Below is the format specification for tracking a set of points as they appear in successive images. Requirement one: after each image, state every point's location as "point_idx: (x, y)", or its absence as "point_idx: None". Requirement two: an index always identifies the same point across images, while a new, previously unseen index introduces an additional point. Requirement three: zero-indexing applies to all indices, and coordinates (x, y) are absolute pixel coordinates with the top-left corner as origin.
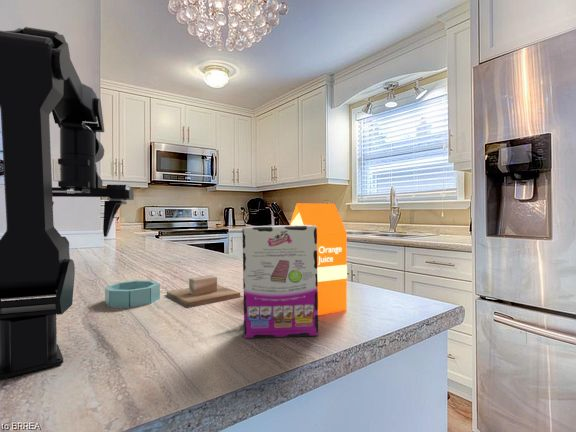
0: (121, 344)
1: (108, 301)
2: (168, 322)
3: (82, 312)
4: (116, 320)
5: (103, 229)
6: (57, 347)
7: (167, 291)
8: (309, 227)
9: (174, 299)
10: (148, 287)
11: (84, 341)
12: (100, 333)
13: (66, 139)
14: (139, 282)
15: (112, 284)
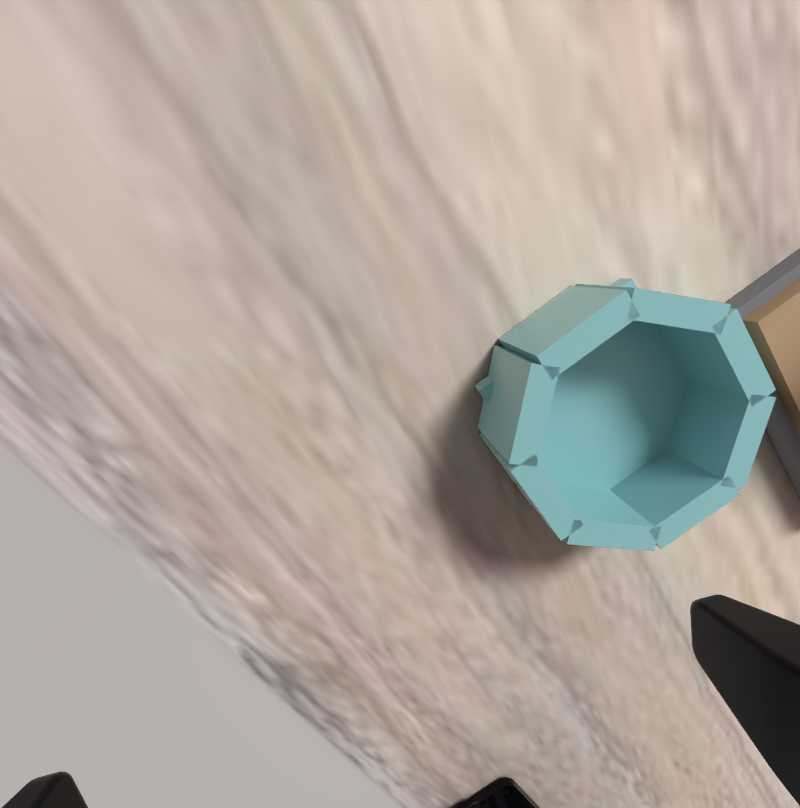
0: (653, 743)
1: (530, 502)
2: (750, 598)
3: (409, 488)
4: (581, 580)
5: (778, 773)
6: (523, 799)
7: (759, 319)
8: None
9: (778, 400)
10: (731, 483)
11: (553, 732)
12: (573, 683)
13: None
14: (652, 322)
15: (525, 402)
